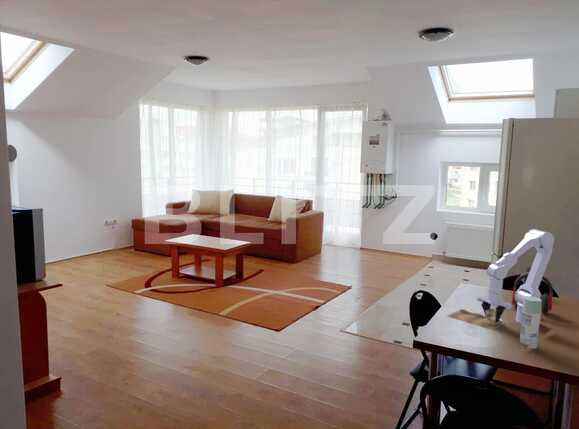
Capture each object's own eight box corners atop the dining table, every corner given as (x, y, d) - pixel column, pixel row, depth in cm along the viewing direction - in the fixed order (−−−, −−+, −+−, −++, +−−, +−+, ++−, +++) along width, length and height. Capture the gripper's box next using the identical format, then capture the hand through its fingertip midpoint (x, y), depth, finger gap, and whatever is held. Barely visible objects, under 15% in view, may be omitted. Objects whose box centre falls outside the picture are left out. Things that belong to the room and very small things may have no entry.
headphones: (511, 311, 225) (514, 272, 222) (511, 305, 234) (514, 268, 231) (551, 317, 217) (555, 277, 214) (550, 311, 226) (554, 272, 223)
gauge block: (500, 322, 205) (501, 309, 205) (492, 326, 199) (493, 313, 198) (491, 319, 208) (492, 307, 207) (483, 324, 202) (484, 311, 201)
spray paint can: (540, 348, 181) (545, 301, 178) (526, 349, 180) (531, 301, 177) (529, 342, 187) (533, 295, 185) (515, 343, 186) (519, 296, 183)
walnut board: (507, 324, 206) (508, 319, 206) (493, 333, 196) (493, 327, 195) (462, 311, 222) (462, 306, 222) (446, 319, 212) (446, 313, 211)
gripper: (475, 288, 204) (472, 317, 206) (507, 296, 194) (505, 327, 196) (481, 286, 209) (479, 314, 211) (514, 293, 199) (511, 323, 200)
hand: (492, 320), depth 204 cm, fingers closed on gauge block, 4 cm apart
